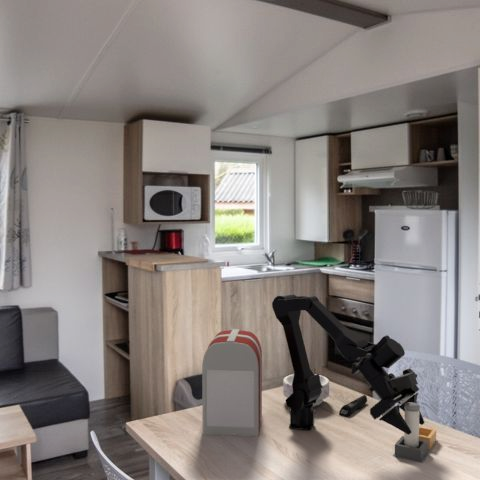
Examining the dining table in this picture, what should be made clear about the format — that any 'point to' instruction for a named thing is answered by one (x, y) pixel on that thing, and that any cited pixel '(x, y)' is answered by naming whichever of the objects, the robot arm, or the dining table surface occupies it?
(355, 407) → the electric trimmer
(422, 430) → the two-tone square organizer tray
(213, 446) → the dining table surface
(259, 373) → the arched-top grey box
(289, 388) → the paper bowls
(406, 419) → the plug
